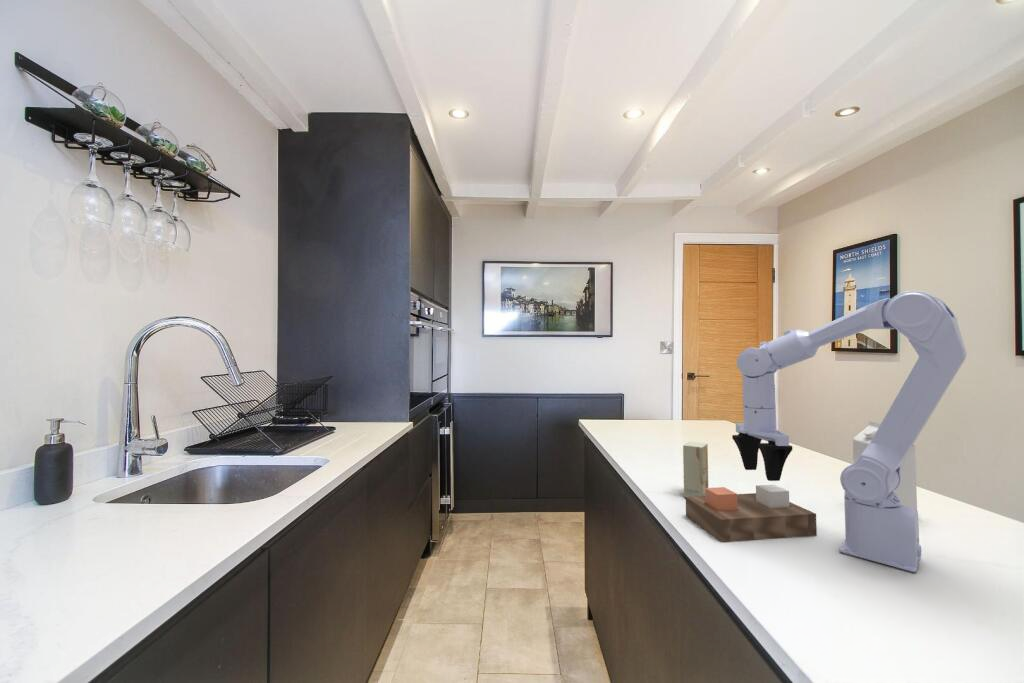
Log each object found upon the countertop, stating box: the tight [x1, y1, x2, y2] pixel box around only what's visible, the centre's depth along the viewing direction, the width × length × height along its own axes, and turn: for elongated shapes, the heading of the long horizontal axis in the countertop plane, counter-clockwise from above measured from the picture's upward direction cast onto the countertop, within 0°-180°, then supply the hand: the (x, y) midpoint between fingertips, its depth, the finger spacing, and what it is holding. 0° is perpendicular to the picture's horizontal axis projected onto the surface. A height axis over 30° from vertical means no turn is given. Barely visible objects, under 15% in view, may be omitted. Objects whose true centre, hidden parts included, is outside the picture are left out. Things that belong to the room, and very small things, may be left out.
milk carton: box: [852, 420, 918, 510], centre depth 88 cm, size 7×7×19 cm
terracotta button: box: [705, 486, 738, 511], centre depth 82 cm, size 4×4×4 cm
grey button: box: [755, 484, 790, 508], centre depth 83 cm, size 4×4×4 cm
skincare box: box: [682, 441, 709, 498], centre depth 100 cm, size 6×4×12 cm
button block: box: [685, 492, 818, 543], centre depth 82 cm, size 19×12×4 cm, turn 97°
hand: (761, 474), depth 84 cm, fingers open, 7 cm apart
